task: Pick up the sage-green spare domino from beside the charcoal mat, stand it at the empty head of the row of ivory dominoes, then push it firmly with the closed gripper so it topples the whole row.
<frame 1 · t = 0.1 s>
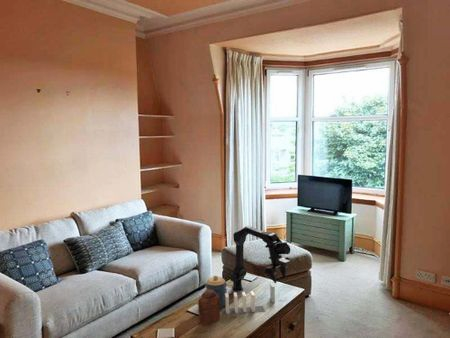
hand: (280, 280, 204), 15 cm above the table, tool pointing down, fingers open, 9 cm apart
domino 1: (252, 309, 201), resting on mat
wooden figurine: (209, 322, 190), on the table
domino 3: (235, 310, 200), resting on mat
domino 4: (227, 311, 200), resting on mat
canister: (216, 303, 211), on the table
domino 2: (244, 310, 201), resting on mat
spare domino: (272, 300, 212), on the table
mat: (243, 310, 201), on the table
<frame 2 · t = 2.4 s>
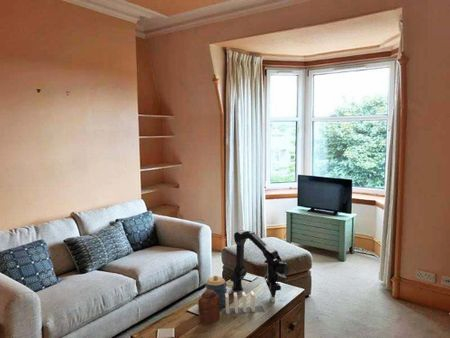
hand: (272, 295, 212), 4 cm above the table, tool pointing down, fingers closed on spare domino, 5 cm apart
spare domino: (272, 300, 212), on the table, touching gripper
everything else where it was.
when the fingers open (4 cm above the table, at t = 7.0 s): spare domino stays where it is, resting on mat.
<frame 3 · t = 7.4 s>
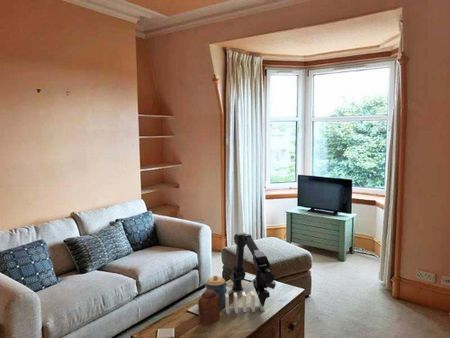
hand: (261, 302, 201), 4 cm above the table, tool pointing down, fingers open, 9 cm apart
spare domino: (261, 308, 202), resting on mat
everything else where it was.
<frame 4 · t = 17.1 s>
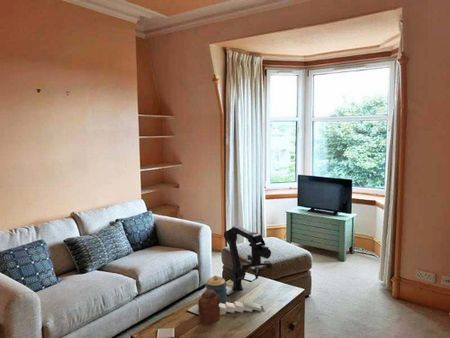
hand: (256, 278, 214), 13 cm above the table, tool pointing down, fingers closed
domino 1: (251, 308, 201), point 1 cm above the table, tilted 72°, touching domino 2, mat, spare domino
domino 3: (233, 309, 200), point 1 cm above the table, tilted 71°, touching domino 2, domino 4
domino 4: (225, 310, 199), point 1 cm above the table, tilted 92°, touching domino 3, mat
domino 2: (242, 309, 200), point 1 cm above the table, tilted 71°, touching domino 1, domino 3, mat
spare domino: (259, 307, 201), point 1 cm above the table, tilted 72°, touching domino 1, mat
everything else where it was.
at the end: domino 4 tilted 92°; domino 2 tilted 71°; spare domino tilted 72° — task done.
